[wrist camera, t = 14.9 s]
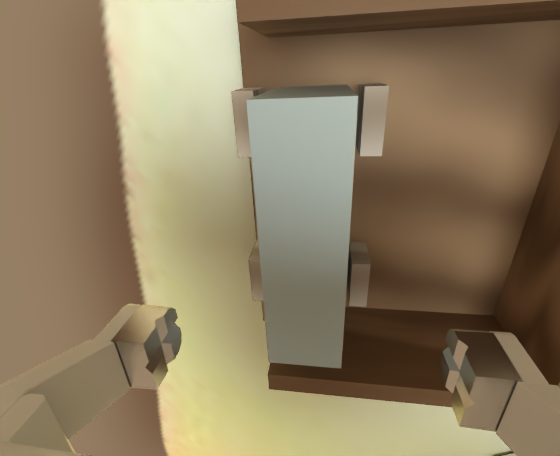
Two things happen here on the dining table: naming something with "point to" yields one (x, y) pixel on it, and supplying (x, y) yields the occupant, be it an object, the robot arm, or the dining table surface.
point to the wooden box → (427, 177)
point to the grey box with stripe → (304, 216)
